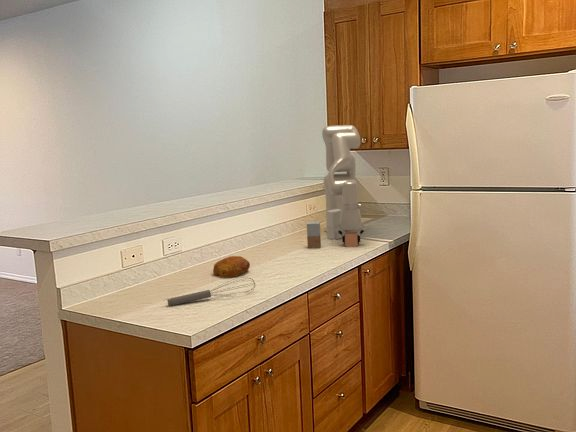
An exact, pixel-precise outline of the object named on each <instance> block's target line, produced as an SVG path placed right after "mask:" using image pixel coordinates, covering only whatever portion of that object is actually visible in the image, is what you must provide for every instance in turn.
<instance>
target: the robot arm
mask: <svg viewBox="0 0 576 432" xmlns="http://www.w3.org/2000/svg"><path fill="white" fill-rule="evenodd" d="M321 135H322V136H321V137H322V139H323V143H324V145H325V163H326V164H325V165H326V169H327V171H328V174H327V175H324V178H323V188H324V193H325V210H326V211H330V210H334V209H341V215H340V223H339V225H338V226H337V227H336V228H335V230H336V231H337V232H339V234H341V235H342V238H341V239H342V240H341V241H342V243H343V245H345V232H351V231H355V232H357V239H358V245H360V243H361V236H362V235H363V233H365V231H366V230H367V229H368V227H367V226H366V224H364V223H363V222H362V213H361V210H360V209H359V208H361V207H362V204H360V203H359V193H358V192H359V184H358V182H357V181H356V168H357V167H356V164H357V163H356V159H355V156H354V155H353V154H351V149H358V148H359V147H360V146H361V136H360V133H359V131H358V129H357V128H356V126H355V125H353V124H352V125H351V124H344V125H342V124H338V125H327V126H324V127H323V128H322V132H321ZM342 172H343V173H342ZM344 172H346V173H344ZM326 211H325V212H326ZM339 227H341V230H343V232H342V231H341V230H339ZM323 231H324V232H326V233H327V227H325V228H324V229H323Z"/></svg>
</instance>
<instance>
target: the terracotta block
mask: <svg viewBox="0 0 576 432" xmlns="http://www.w3.org/2000/svg"><path fill="white" fill-rule="evenodd" d="M357 235H358V233H357V231H345V244H344V247H346V248H348V247H349V248H351V247H352V248H353V247H358V245H359V244H358V239H357Z"/></svg>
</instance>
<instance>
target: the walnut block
mask: <svg viewBox="0 0 576 432" xmlns="http://www.w3.org/2000/svg"><path fill="white" fill-rule="evenodd" d="M306 236H307V235H306ZM306 240H307V249H321V245H322V243H321V242H322V241H321V235H320V236H307V237H306Z"/></svg>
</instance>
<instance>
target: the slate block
mask: <svg viewBox="0 0 576 432" xmlns="http://www.w3.org/2000/svg"><path fill="white" fill-rule="evenodd" d="M306 236H320V237H321V221H307V223H306Z"/></svg>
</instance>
